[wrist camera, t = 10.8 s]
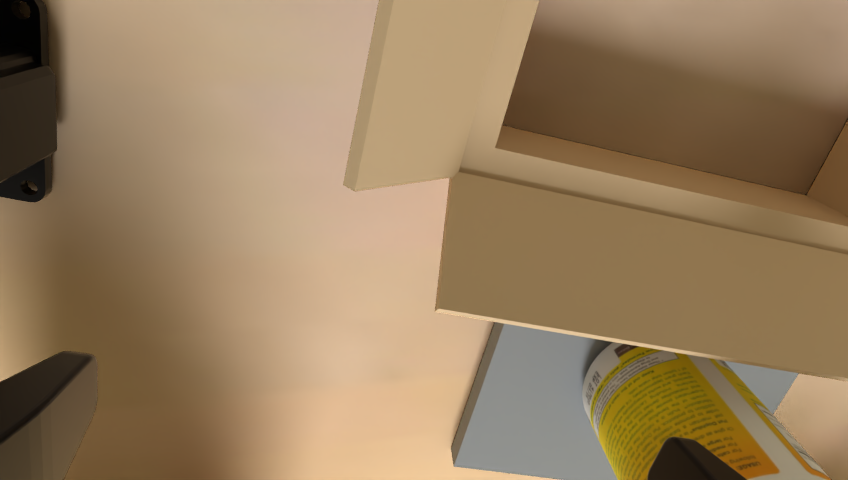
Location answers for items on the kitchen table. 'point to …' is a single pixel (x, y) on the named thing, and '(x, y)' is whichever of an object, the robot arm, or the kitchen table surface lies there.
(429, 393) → the kitchen table surface
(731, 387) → the supplement bottle
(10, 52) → the robot arm
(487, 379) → the slate mat
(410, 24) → the carton
